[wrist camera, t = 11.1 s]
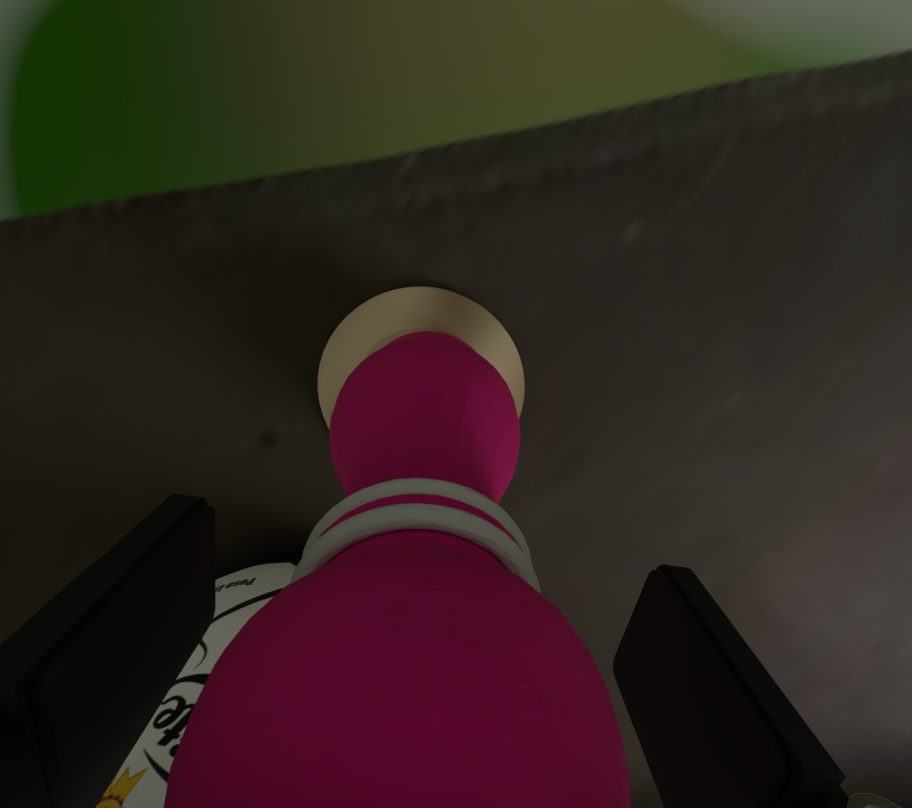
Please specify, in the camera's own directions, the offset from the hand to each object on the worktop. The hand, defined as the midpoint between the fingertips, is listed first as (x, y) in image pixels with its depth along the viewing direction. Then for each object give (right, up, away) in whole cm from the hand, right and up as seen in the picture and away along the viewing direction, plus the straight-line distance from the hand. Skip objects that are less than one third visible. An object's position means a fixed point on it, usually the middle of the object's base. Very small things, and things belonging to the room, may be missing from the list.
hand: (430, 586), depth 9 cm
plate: (-1, +5, +12) cm, 13 cm away
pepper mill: (-1, +4, +12) cm, 13 cm away
